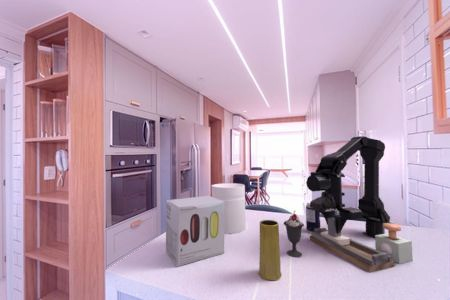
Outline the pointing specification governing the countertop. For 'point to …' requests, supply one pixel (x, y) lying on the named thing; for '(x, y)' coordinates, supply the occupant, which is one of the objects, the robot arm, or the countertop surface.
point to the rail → (354, 252)
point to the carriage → (335, 233)
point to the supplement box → (194, 229)
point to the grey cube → (394, 248)
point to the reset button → (392, 230)
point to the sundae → (294, 234)
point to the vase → (269, 250)
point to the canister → (231, 205)
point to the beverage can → (312, 218)
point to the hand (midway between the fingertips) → (334, 231)
